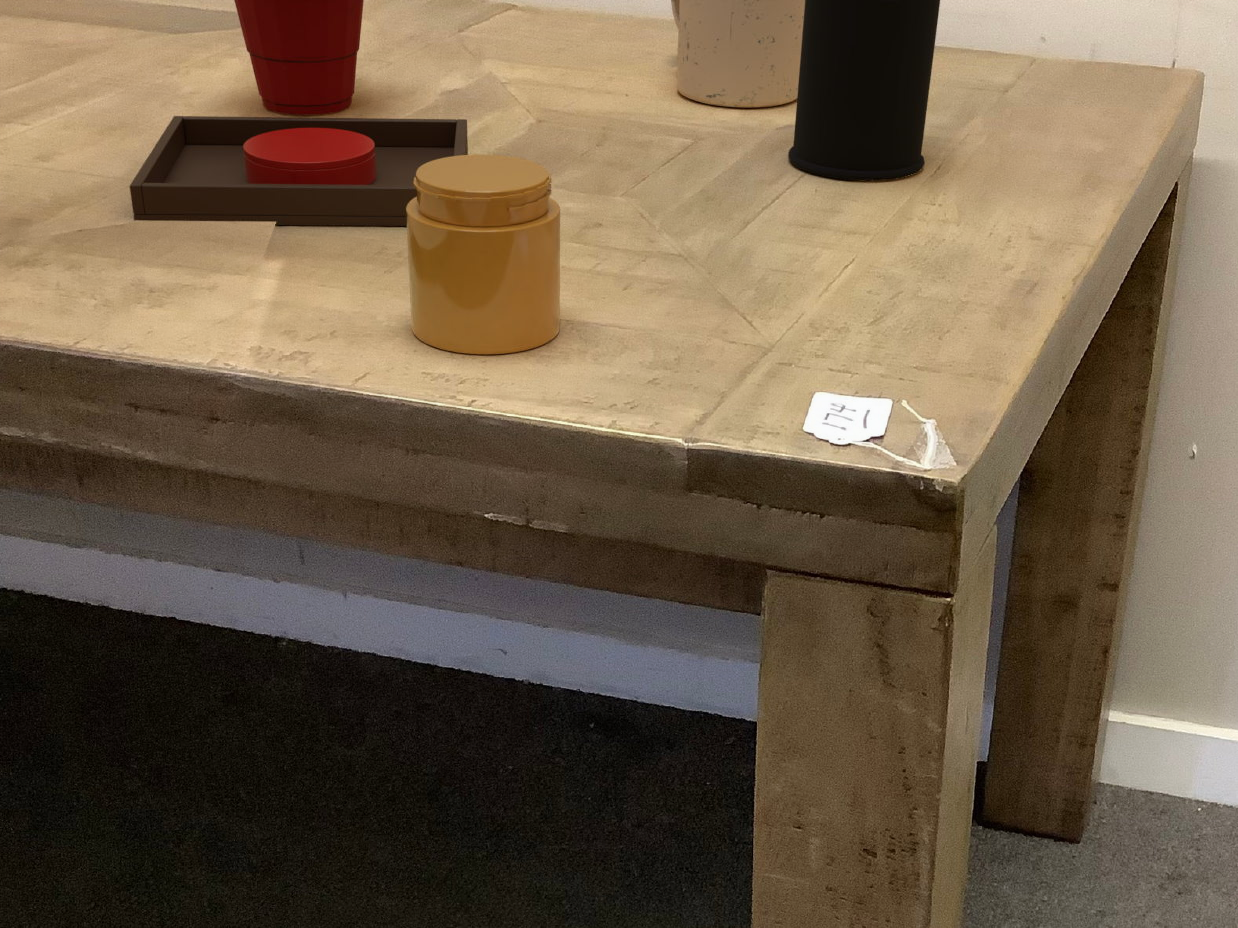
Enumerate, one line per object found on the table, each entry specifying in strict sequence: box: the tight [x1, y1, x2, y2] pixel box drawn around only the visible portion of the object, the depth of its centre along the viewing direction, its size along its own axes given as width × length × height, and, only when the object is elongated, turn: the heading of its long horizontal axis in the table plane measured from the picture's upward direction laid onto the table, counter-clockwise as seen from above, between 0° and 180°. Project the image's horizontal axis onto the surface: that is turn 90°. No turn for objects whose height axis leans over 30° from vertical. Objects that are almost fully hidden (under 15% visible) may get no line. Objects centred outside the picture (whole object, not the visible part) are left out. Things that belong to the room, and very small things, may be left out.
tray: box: [129, 115, 469, 227], centre depth 94 cm, size 17×14×2 cm
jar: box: [406, 153, 561, 355], centre depth 75 cm, size 7×7×7 cm
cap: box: [243, 128, 376, 185], centre depth 94 cm, size 7×7×2 cm
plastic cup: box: [233, 0, 364, 116], centre depth 106 cm, size 11×11×12 cm
